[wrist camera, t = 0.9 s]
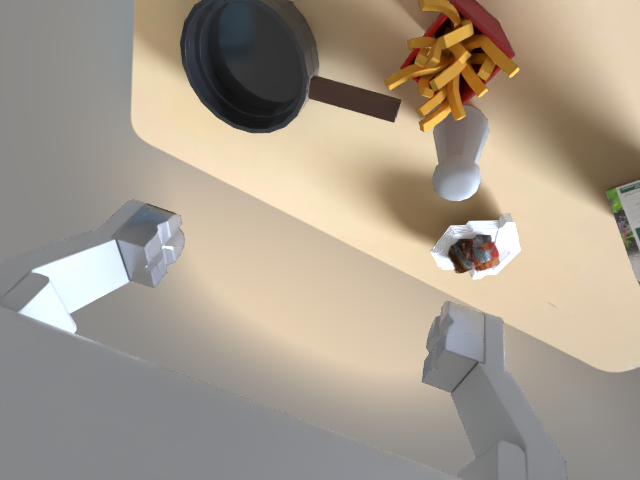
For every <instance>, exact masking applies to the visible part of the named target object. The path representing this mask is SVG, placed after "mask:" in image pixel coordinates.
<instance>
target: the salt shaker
mask: <svg viewBox="0 0 640 480" xmlns="http://www.w3.org/2000/svg"><path fill="white" fill-rule="evenodd" d="M463 107H464V110H465V113H466V115H467V116H465V117H463V118H462V119H460V120H456V121H455V120H454V117H453V114H452V112H451V111H450V113H449V114H448V115H447V117H446V118H444V119H443V120H442V121H441V122H439V123H438V124H437V125H435V128H434V131H433V135H434V140H435V145H436V151H437V156H438V162H439V164H438V165H437V166H436V168H435V171H434V174H433V177H432V181H433V186H434V189H435V191H436V192H437V193H438V194H439V195H440V197H443V198H445V199H447V200H451V201H461V200H464V199H467V198H469V197H471V196H472V195H473V194H474V193H476V191H477V189H478V186H479V184H480V181H481V175H480V168H479V166H478V165H477V164H478V161H479V158H480V156H481V153H482V150H483V148H484V145H485V142H486V140H487V137H488V135H489V124H488V119H487V118H486V117H485V115H484V114H483V113H482V112H481V111H480V110H478V109H476V108H474V107H472V106H469V105H465V106H463Z"/></svg>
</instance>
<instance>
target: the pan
mask: <svg viewBox="0 0 640 480" xmlns="http://www.w3.org/2000/svg"><path fill="white" fill-rule="evenodd" d="M180 46H181V55H182V64H183V67H184V69H185V72H186V75H187V78H188V80H189V83H190V85H191V87H192V88H193V90H194V91H195V93H196V95H197V96H198V98H199V99H200V101H201V102H202V103H203V104H204V105H205V106H206V107H207V108H208V109H209V110H210V111H211V112H212V113H213V114H214V115H215V116H216V117H217V118H219V119H220V120H222V121H224V122H225V123H227V124H228V125H230V126H232V127H233V128H236V129H239V130H243V131H246V132H249V133H270V132H273V131H276V130H279V129H281V128H284V127H286V126H287V125H288V124H289V123H290V122H291V121H292V120H293V119H294V118H296V117H297V116H298V114H299V113H300V112H301V110H302V109H303V108H304V106H305V105H306V104H307V102H308V101H309V98H308V94H309V86H310V79H311V78H312V77H313V75H315V76H318V69H319V61H318V54H317V48H316V43H315V40H314V38H313V35H312V33H311V31H310V29H309V27H308V24H307V22H306V21H305V19H304V18H303V17H302V15H301V14H300V13H299V12H298V11H297V9H296V8H295V7H294V6H293V5H292V3H291V2H290V1H289V0H201V1H200V2H198V3H197V4H195V5H194V7H193V9H192V10H191V12H190V13H189V15H188V17H187V18H186V20H185V22H184V26H183V31H182V36H181V41H180Z"/></svg>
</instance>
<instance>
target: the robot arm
mask: <svg viewBox="0 0 640 480" xmlns="http://www.w3.org/2000/svg"><path fill="white" fill-rule="evenodd" d="M181 225H182V219H181V216H180V215H178V214H176V213H173V212H170V211H168V210H165V209H162V208H159V207H156V206H153V205H151V204H147V203H144V202H141V201H139V200H135V199H132V200H129V201H127V202H126V203H125V204H124V205H123V206H122V207H121V208H120V209H119V210H118V211H117V212H116V213H114V214H113V215H112V216H111V217H110V218H109V219H108V220H107V221H106V222H105V223H104V224H103V225H102V226H101V227H100V228H99V229H97V231H95V232H93V231H88V232H85V233H82V234H79V235H76V236H73V237H70V238H67V239H64V240H61V241H58V242H55V243H52V244H49V245H46V246H43V247H40V248H37V249H34V250H31V251H28V252H25V253H22V254H19V255H16V256H13V257H10V258H7V259H4V260H3V261H2V262H1V263H0V480H568V476H567V468H566V461H565V460H564V458H563V456H562V455H561V453H560V452H559V450H558V448H557V447H556V445H555V444H554V442H553V440H552V439H551V437H550V436H549V434H548V432H547V431H546V429H545V428H544V426H543V424H542V423H541V421H540V419H539V418H538V416H537V415H536V413H535V411H534V410H533V408H532V407H531V405H530V403H529V402H528V400H527V399H526V397H525V395H524V394H523V392H522V391H521V389H520V387H519V386H518V384H517V382H516V381H515V379H514V378H513V376H512V374H511V373H509V372H506V371H505V351H504V322H503V320H502V318H500V317H497V316H494V315H491V314H487V313H484V312H482V311H479V310H475V309H472V308H469V307H465V306H463V305H459V304H456V303H453V302H450V301H446V302H445V304H444V305H443V306H442V308H441V316H438V317H436V318H435V320H434V322H433V323H432V326H431V328H430V331H429V335H428V339H427V346H426V348H427V350H428V352H429V355H428V356H427V358H426V359H425V361H424V369H423V378H422V382H423V383H426V384H429V385H431V386H434V387H437V388H439V389H442V390H445V391H447V392H450V393H451V396H452V399H453V401H454V403H455V406H456V409H457V411H458V414H459V416H460V419H461V421H462V424H463V426H464V429H465V431H466V434H467V436H468V439H469V441H470V443H471V446H472V449H473V451H474V454H475V456H476V459H475V460H474V461H473V462H471V463H470V464H468V465H467V466H466V467H464V468H463V469H462V470H460V471H459V472H458V477H455V476H453V475H450V474H447V473H445V472H442V471H439V470H437V469H434V468H431V467H429V466H426V465H423V464H421V463H418V462H415V461H412V460H410V459H407V458H405V457H402V456H399V455H397V454H394V453H391V452H389V451H386V450H383V449H381V448H378V447H375V446H373V445H370V444H367V443H365V442H362V441H359V440H357V439H354V438H351V437H349V436H346V435H343V434H341V433H338V432H336V431H333V430H330V429H328V428H325V427H322V426H320V425H317V424H314V423H311V422H309V421H306V420H304V419H301V418H298V417H296V416H293V415H290V414H288V413H285V412H282V411H280V410H277V409H274V408H272V407H269V406H266V405H264V404H261V403H258V402H256V401H253V400H250V399H248V398H245V397H242V396H240V395H237V394H234V393H231V392H229V391H226V390H223V389H221V388H218V387H215V386H213V385H210V384H208V383H205V382H202V381H200V380H197V379H194V378H191V377H189V376H186V375H184V374H181V373H178V372H176V371H173V370H170V369H168V368H165V367H162V366H160V365H157V364H154V363H152V362H149V361H146V360H143V359H141V358H138V357H136V356H133V355H130V354H128V353H125V352H122V351H119V350H117V349H114V348H111V347H109V346H106V345H104V344H101V343H98V342H96V341H93V340H90V339H88V338H85V337H82V336H80V335H77V334H74V332H75V331H76V324H75V323H74V321H73V319H72V317H71V316H70V313H71V312H73V311H75V310H77V309H79V308H81V307H82V306H85V305H87V304H88V303H90V302H92V301H94V300H96V299H98V298H100V297H102V296H103V295H105V294H107V293H109V292H111V291H113V290H115V289H116V288H118V287H120V286H122V285H124V284H126V283H128V282H129V280H131V281H134V282H137V283H140V284H143V285H146V286H149V287H152V288H155V287H156V286H157V285H158V283H159V282H160V281H161V280H162V278H163V277H164V276H165V275H166V273H167V265H169V264H172V263H174V262H176V260H177V259H178V258H179V256H180V255H181V253H182V250H183V248H184V242H185V237H184V233H183V232H182V231H181V230H180V228H179V227H180V226H181Z"/></svg>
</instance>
